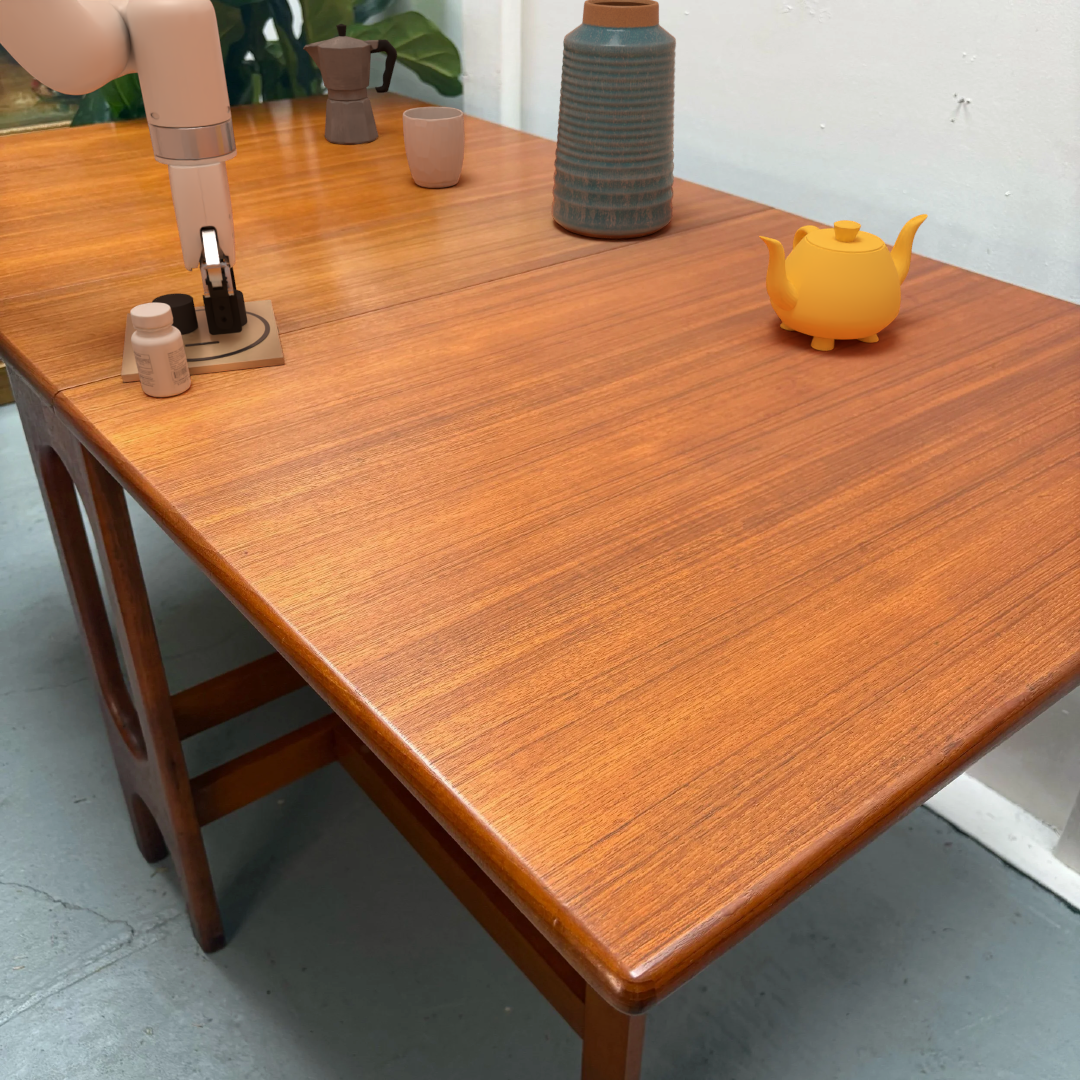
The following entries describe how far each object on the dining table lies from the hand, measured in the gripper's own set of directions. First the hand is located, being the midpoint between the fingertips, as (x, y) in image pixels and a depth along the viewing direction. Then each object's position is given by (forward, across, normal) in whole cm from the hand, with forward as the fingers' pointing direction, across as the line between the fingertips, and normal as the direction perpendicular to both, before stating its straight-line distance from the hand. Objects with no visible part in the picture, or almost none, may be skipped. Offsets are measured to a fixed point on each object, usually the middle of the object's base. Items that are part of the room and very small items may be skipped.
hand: (224, 315), depth 105 cm
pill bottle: (+2, +12, -6) cm, 14 cm away
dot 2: (+1, 0, 0) cm, 1 cm away
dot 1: (+1, 0, -5) cm, 5 cm away
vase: (+2, -24, +52) cm, 57 cm away
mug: (+2, -52, +33) cm, 62 cm away
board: (+2, +2, -2) cm, 4 cm away
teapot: (+2, +16, +61) cm, 63 cm away
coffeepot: (+2, -82, +26) cm, 86 cm away
